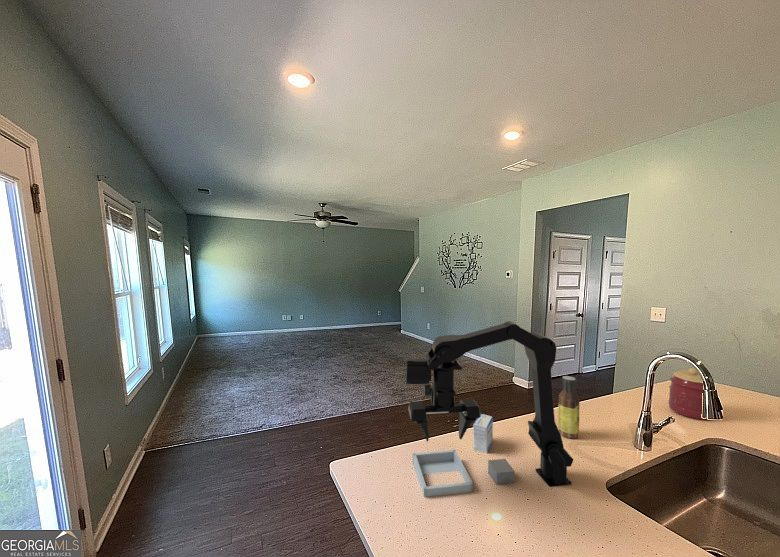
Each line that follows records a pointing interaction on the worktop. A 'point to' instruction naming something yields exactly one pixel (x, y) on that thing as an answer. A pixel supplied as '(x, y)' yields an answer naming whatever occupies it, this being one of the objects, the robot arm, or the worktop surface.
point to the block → (501, 471)
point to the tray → (439, 464)
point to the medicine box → (483, 433)
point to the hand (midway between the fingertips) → (443, 439)
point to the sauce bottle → (568, 409)
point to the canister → (686, 393)
